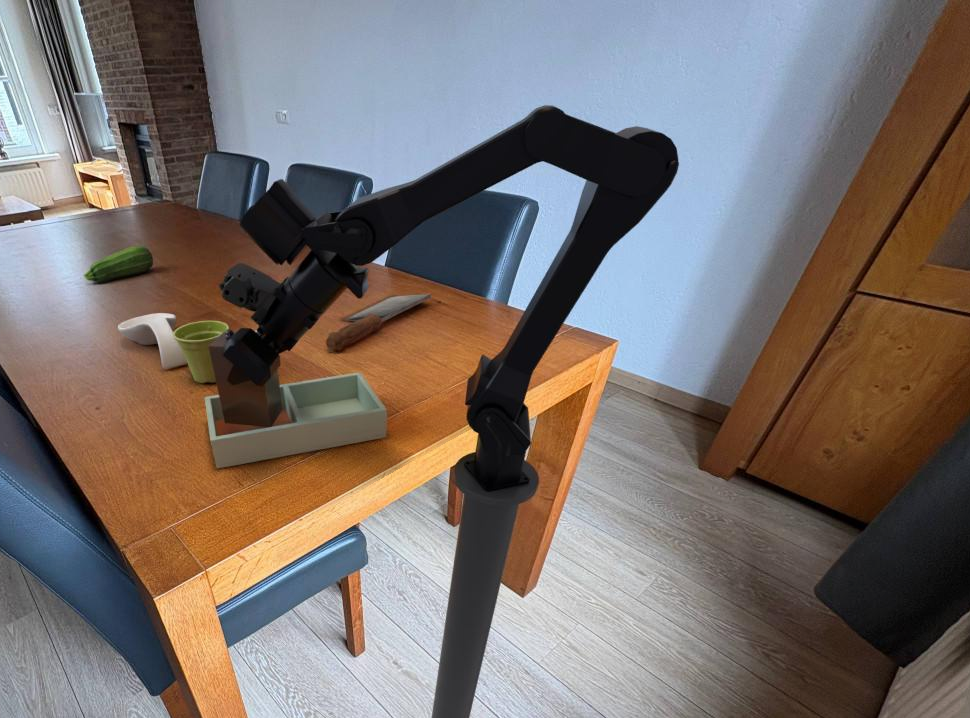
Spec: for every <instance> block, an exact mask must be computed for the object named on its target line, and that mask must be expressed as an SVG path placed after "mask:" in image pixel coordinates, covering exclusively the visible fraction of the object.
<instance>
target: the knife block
mask: <svg viewBox="0 0 970 718" xmlns="http://www.w3.org/2000/svg"><path fill="white" fill-rule="evenodd" d="M236 332H237V331H234V330H233V329H231V328H229V329H227V330H226V331H224V332H223V333H222V334H221V335H220V336H219V337H218V338H217V339H216V340H214V341H213V342H212V343H211V344H210V345H209V351H210V356H211V360H212V365H213V370H214V374H215V379H216V382H215V383H216V388H217V393H218V395H219V398H220V402H221V407H222V412H223V416H224V421H225V423H229V424H240V425H251V426H261V427H272V425H273V424H274V422H275V421H276V419H277V418H278V416H279V415H280V413H281V412H282V410H283V408H282V400H281V392H280V385H281V384H280V378H279V371H278V369H277V371H276V372H275V373H274V374H273V376H272V377H271V378H270V379H269V380H268V381H267V382H266V383H265V384H264V385H263V387H260V386H256V385H255V384H254V383H253V382H252V381H251V380H250V381H247V382H243V383H240V384H237V385H231V384H230V383H229V382H228V381H227V378H228V375H229V373H230V371H231V368H232V366H233V364H232V363H231V362H230V361H229V360H228V359H227V358H225V357H224V356H223V355H222V352H221V348H222V347H223V346H224V345H225V344H226V342H227V341H228V340H229V339H230V338H231V337H232V336H233V335H234V334H235V333H236ZM265 335H266V334H264V335H263V336H262V337H261V338H262V339H263V338H264V337H265ZM273 343H274V342H273V341H272V342H271V343H270V344H269V346H271V345H272V344H273Z"/></svg>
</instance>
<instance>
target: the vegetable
mask: <svg viewBox="0 0 970 718" xmlns="http://www.w3.org/2000/svg"><path fill="white" fill-rule="evenodd" d="M153 265H154V258H153V254H152V252H151V251H150V250H149V248H147V247H145V246H143V245H132V246H128V247H127V248H124V249H122V250H120V251H117V252H115V253H113V254H112V253H111V255H108V256H106V257H104V258H102V259H99V260H98V261H95V262H94V263H92V264H91V265H90V267H89V270H88V271H86V273H85V274H83V277H84V278H85V280H87V281H88V282H95V283H98V284H103V283H107V282H110V281H112V280H115V279H120V278H123V277H124V278H125V277H130V276H137V275H140V274H143V273H146V272H147V271H149V270H151V268H152V267H153Z"/></svg>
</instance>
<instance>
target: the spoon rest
mask: <svg viewBox="0 0 970 718" xmlns="http://www.w3.org/2000/svg"><path fill="white" fill-rule="evenodd" d="M176 324H177V316H176V315H175V314H172V313H166V312H157V313H149V314H145V315H139V316H136V317H132V318H130V319H127V320H124V321H123V322H120V323H119V324H118V326H117V329H118V331H119V333H121V334H122V336H123V337H125V338H127V339H129V340H131V341H133V342H136V343H137V344H139V345H143V346H150V345H156V344H157V345H158V350H159V355H160V361H161V366H162V369H163V370H169V369H173V368H176V367H180V366H184V365H186V364H188V363H187V360H186V358H185V355H184V353H183V350H182V348H181V347H180V346H179V344H178V342H177V340H176V339H174V337H173V332H174V330H175V327H176Z"/></svg>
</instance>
